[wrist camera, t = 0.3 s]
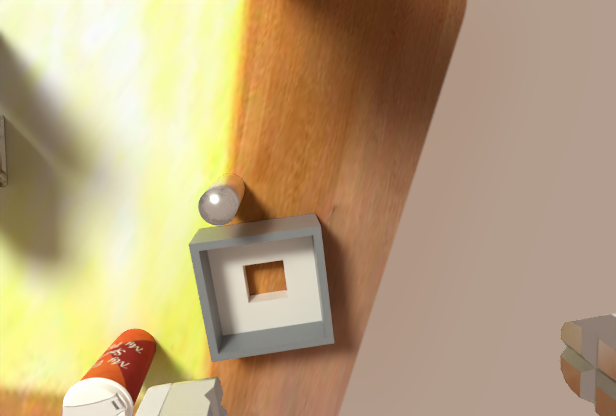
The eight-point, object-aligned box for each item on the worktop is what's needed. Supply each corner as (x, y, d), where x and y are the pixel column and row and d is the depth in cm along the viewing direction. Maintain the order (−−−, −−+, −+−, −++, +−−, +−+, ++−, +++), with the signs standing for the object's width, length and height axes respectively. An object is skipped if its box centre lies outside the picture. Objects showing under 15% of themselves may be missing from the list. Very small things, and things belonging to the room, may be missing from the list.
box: (199, 228, 55) (188, 244, 48) (315, 213, 55) (320, 226, 49) (219, 333, 58) (211, 362, 51) (327, 317, 59) (334, 343, 52)
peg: (212, 175, 53) (195, 191, 42) (242, 171, 53) (233, 186, 42) (217, 204, 54) (202, 227, 42) (247, 200, 54) (239, 222, 43)
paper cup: (146, 313, 57) (105, 374, 43) (173, 355, 58) (142, 427, 45) (97, 336, 57) (41, 404, 43) (125, 378, 58) (80, 456, 45)
